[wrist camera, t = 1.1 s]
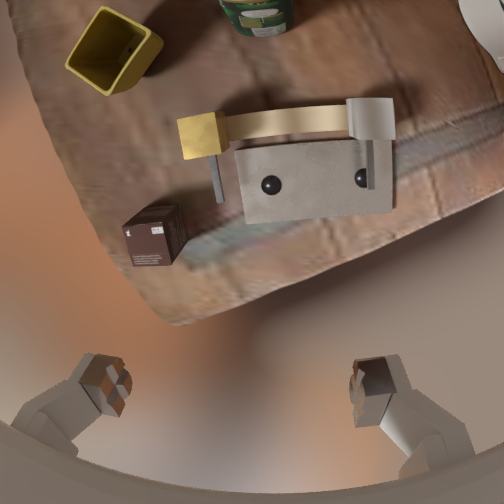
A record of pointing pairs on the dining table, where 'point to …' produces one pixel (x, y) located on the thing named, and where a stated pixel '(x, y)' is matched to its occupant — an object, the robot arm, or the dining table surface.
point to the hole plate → (313, 180)
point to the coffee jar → (259, 16)
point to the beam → (323, 123)
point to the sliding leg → (205, 142)
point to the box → (155, 235)
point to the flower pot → (113, 52)
